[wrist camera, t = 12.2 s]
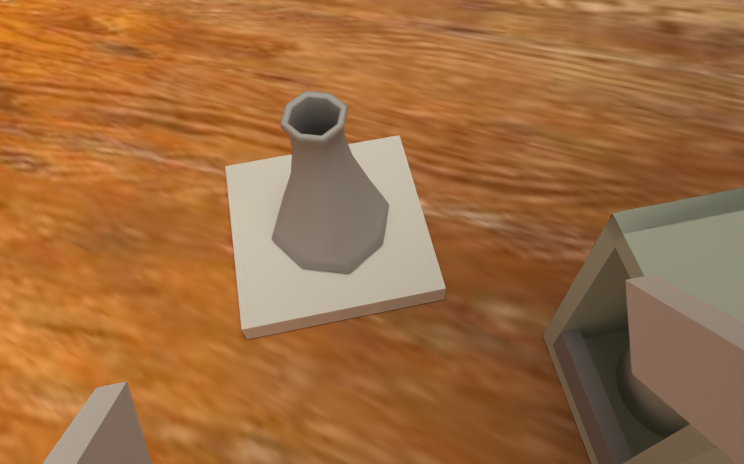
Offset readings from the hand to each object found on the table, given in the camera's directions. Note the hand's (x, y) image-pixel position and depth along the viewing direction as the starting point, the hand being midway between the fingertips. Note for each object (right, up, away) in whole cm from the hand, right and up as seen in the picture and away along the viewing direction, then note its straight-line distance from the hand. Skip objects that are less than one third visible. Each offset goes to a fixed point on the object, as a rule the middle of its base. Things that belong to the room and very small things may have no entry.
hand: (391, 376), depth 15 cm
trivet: (-3, +4, +23) cm, 24 cm away
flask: (-3, +4, +22) cm, 23 cm away
